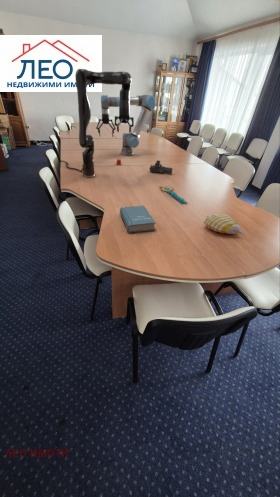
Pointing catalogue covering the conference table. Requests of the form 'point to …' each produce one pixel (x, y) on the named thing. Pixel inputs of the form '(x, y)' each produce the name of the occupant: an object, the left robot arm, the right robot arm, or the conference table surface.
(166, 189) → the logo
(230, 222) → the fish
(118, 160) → the block
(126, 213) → the book
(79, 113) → the left robot arm
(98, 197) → the conference table surface
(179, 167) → the conference table surface
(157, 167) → the laser sight
